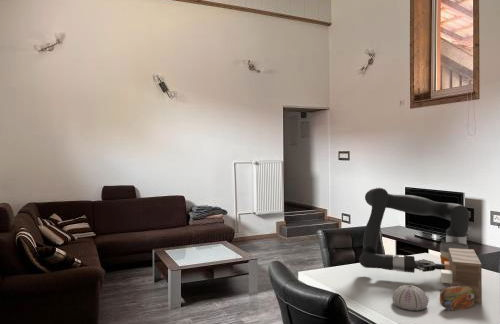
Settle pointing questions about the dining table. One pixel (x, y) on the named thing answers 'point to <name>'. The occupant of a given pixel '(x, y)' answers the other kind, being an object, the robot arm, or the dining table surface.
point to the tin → (457, 297)
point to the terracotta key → (447, 265)
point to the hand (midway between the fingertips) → (444, 267)
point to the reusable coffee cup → (445, 249)
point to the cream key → (446, 276)
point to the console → (466, 270)
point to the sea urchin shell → (410, 298)
